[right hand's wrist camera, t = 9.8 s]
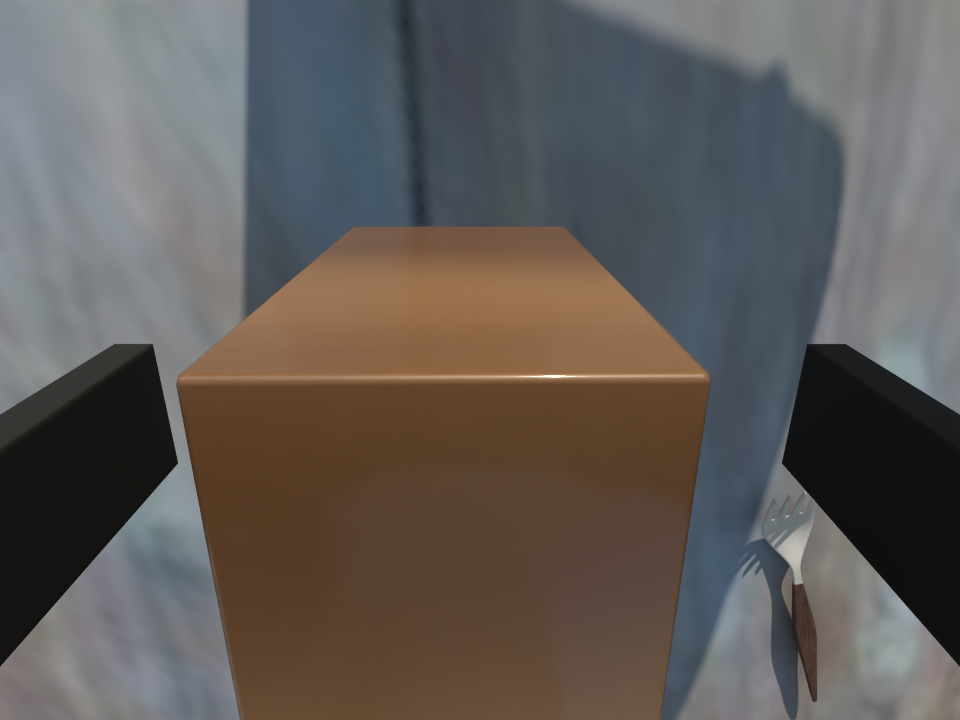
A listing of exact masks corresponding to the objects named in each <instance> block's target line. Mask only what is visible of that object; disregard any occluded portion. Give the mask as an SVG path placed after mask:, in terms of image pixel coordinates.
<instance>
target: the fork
mask: <svg viewBox="0 0 960 720" xmlns="http://www.w3.org/2000/svg"><path fill="white" fill-rule="evenodd" d="M805 496H806V492H805V491H804V492H803V493H802V494H801V496H800V498H799V500H798V501H797V503H796V505H795V507H794V509H793V512H792V513H791V514H790V515H789V516H786V512H787V508H788V505H789V502H790V500H791V496H790V495H788V497H787V499H786V500H785V502H784V504H783V506H782V508H781V510H780V513H779V515H778V517H777V518H776V519H772V515H773V510H774V507H775V504H776V502H777V500H776V499H775V498H774V499H773V501H772V503H771V505H770V507H769V509H768V511H767V514H766V516H765V519H764V523H763V527H762V532H763V536H764V538H765V539H766V541H767V542H768V544H769V545H770V546H771V547H772V548H773V549H774V550H775V551H776V552H777V553H778V554H779V555H781V556H782V557H783V558H784V559H785V560H786V562H787V563H788V564H789V565H790V567H791V570H792V626H793V633H794V637H795V641H796V644H797V647H798V651H799V654H800V657H801V660H802V664H803V667H804V671H805V675H806V679H807V683H808V687H809V690H810V694H811V697H812V700H813V702H816V700H817V636H816V628H815V624H814V619H813V616H812V612H811V609H810V605H809V602H808V599H807V595H806V592H805V588H804V585H803V581H802V578H801V573H800V563H801V559H802V555H803V552H804V549H805V546H806V543H807V540H808V538H809V534H810V531H811V528H812V523H813V512H814V506H815V503H816V502H815V500H814V499H813V498H812V499H811V500H810V502H809V504H808V506H807V508H806V510H805V511H804V512H802V513H801V512H800V509H801V506H802V503H803V500H804V498H805Z"/></svg>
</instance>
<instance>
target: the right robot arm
mask: <svg viewBox="0 0 960 720" xmlns="http://www.w3.org/2000/svg"><path fill="white" fill-rule="evenodd" d="M177 464H178V460H177V456H176V451H175V446H174V442H173V437H172V432H171V428H170V423H169V418H168V414H167V409H166V404H165V399H164V395H163V390H162V385H161V381H160V376H159V371H158V367H157V362H156V357H155V353H154V348H153V344H114V345H112V346H111V347H109V348H107V349H106V350H104V351H103V352H101V353H99V354H98V355H96V356H94V357H93V358H91V359H90V360H88V361H86V362H85V363H83V364H82V365H80V366H78V367H77V368H75V369H73V370H72V371H70V372H69V373H67V374H65V375H64V376H62V377H60V378H59V379H57V380H56V381H54V382H52V383H51V384H49V385H48V386H46V387H44V388H43V389H41V390H39V391H38V392H36V393H35V394H33V395H31V396H30V397H28V398H27V399H25V400H23V401H22V402H20V403H18V404H17V405H15V406H14V407H12V408H10V409H9V410H7V411H5V412H4V413H2V414H1V415H0V666H1V665H2V664H3V663H4V662H5V660H6V659H7V658H8V657H9V656H10V655H11V654H12V652H13V651H14V650H15V649H16V648H17V647H18V646H19V644H20V643H21V642H22V641H23V640H24V639H25V638H26V636H27V635H28V634H29V633H30V632H31V631H32V630H33V628H34V627H35V626H36V625H37V624H38V623H39V622H40V620H41V619H42V618H43V617H44V616H45V615H46V614H47V612H48V611H49V610H50V609H51V608H52V607H53V606H54V604H55V603H56V602H57V601H58V600H59V599H60V598H61V596H62V595H63V594H64V593H65V592H66V591H67V590H68V588H69V587H70V586H71V585H72V584H73V583H74V582H75V580H76V579H77V578H78V577H79V576H80V575H81V574H82V572H83V571H84V570H85V569H86V568H87V567H88V566H89V564H90V563H91V562H92V561H93V560H94V559H95V558H96V556H97V555H98V554H99V553H100V552H101V551H102V550H103V548H104V547H105V546H106V545H107V544H108V543H109V542H110V540H111V539H112V538H113V537H114V536H115V535H116V534H117V532H118V531H119V530H120V529H121V528H122V527H123V526H124V524H125V523H126V522H127V521H128V520H129V519H130V518H131V516H132V515H133V514H134V513H135V512H136V511H137V510H138V508H139V507H140V506H141V505H142V504H143V503H144V502H145V500H146V499H147V498H148V497H149V496H150V495H151V494H152V492H153V491H154V490H155V489H156V488H157V487H158V486H159V484H160V483H161V482H162V481H163V480H164V479H165V478H166V476H167V475H168V474H169V473H170V472H171V471H172V470H173V468H174V467H175V466H176V465H177ZM782 464H783V465H784V466H785V467H786V468H787V470H788V471H789V472H790V473H791V474H792V475H793V476H794V478H795V479H796V480H797V481H798V482H799V483H800V484H801V486H802V487H803V488H804V489H805V490H806V491H807V492H808V494H809V495H810V496H811V497H812V498H813V499H814V500H815V502H816V503H817V504H818V505H819V506H820V507H821V508H822V510H823V511H824V512H825V513H826V514H827V515H828V516H829V518H830V519H831V520H832V521H833V522H834V523H835V524H836V526H837V527H838V528H839V529H840V530H841V531H842V532H843V534H844V535H845V536H846V537H847V538H848V539H849V540H850V542H851V543H852V544H853V545H854V546H855V547H856V548H857V550H858V551H859V552H860V553H861V554H862V555H863V556H864V558H865V559H866V560H867V561H868V562H869V563H870V564H871V566H872V567H873V568H874V569H875V570H876V571H877V572H878V574H879V575H880V576H881V577H882V578H883V579H884V580H885V582H886V583H887V584H888V585H889V586H890V587H891V588H892V590H893V591H894V592H895V593H896V594H897V595H898V596H899V598H900V599H901V600H902V601H903V602H904V603H905V604H906V606H907V607H908V608H909V609H910V610H911V611H912V612H913V614H914V615H915V616H916V617H917V618H918V619H919V620H920V622H921V623H922V624H923V625H924V626H925V627H926V628H927V630H928V631H929V632H930V633H931V634H932V635H933V636H934V638H935V639H936V640H937V641H938V642H939V643H940V644H941V646H942V647H943V648H944V649H945V650H946V651H947V652H948V654H949V655H950V656H951V657H952V658H953V659H954V660H955V662H956V663H957V664H958V665H959V666H960V415H959V414H958V413H956V412H955V411H953V410H951V409H950V408H948V407H946V406H945V405H943V404H942V403H940V402H938V401H937V400H935V399H933V398H932V397H930V396H929V395H927V394H925V393H924V392H922V391H921V390H919V389H917V388H916V387H914V386H912V385H911V384H909V383H908V382H906V381H904V380H903V379H901V378H900V377H898V376H896V375H895V374H893V373H891V372H890V371H888V370H887V369H885V368H883V367H882V366H880V365H878V364H877V363H875V362H874V361H872V360H870V359H869V358H867V357H866V356H864V355H862V354H861V353H859V352H857V351H856V350H854V349H853V348H851V347H849V346H848V345H846V344H807V348H806V353H805V357H804V362H803V367H802V371H801V376H800V381H799V385H798V390H797V395H796V399H795V404H794V409H793V414H792V418H791V423H790V428H789V432H788V437H787V442H786V446H785V451H784V456H783V460H782Z"/></svg>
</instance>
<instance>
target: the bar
mask: <svg viewBox="0 0 960 720" xmlns="http://www.w3.org/2000/svg"><path fill="white" fill-rule="evenodd" d="M710 381H711V380H710V376H709V373H708V372H707V371H706V370H705V369H704V368H703V367H702V366H701V365H700V364H699V363H698V362H697V361H696V360H695V359H694V358H693V357H692V356H691V355H690V354H689V353H688V352H687V351H686V350H685V349H684V348H683V347H682V346H681V345H680V344H679V343H678V342H677V341H676V340H675V339H674V338H673V337H672V336H671V335H670V334H669V333H668V331H667V330H666V329H665V328H664V327H663V326H662V325H661V324H660V323H659V322H658V321H657V320H656V319H655V318H654V317H653V316H652V315H651V314H650V313H649V312H648V311H647V310H646V309H645V308H644V307H643V306H642V305H641V304H640V303H639V302H638V301H637V300H636V299H635V298H634V297H633V296H632V295H631V294H630V293H629V292H628V291H627V290H626V289H625V288H624V287H623V286H622V285H621V284H620V283H619V282H618V281H617V280H616V279H615V278H614V277H613V276H612V275H611V274H610V273H609V272H608V271H607V270H606V269H605V268H604V267H603V266H602V265H601V264H600V262H599V261H598V260H597V259H596V258H595V257H594V256H593V255H592V254H591V253H590V252H589V251H588V250H587V249H586V248H585V247H584V246H583V245H582V244H581V243H580V242H579V241H578V240H577V239H576V238H575V237H574V236H573V235H572V234H571V233H570V232H569V231H568V230H567V229H566V228H564V227H353V228H352V229H350V230H349V231H348V232H347V233H346V234H345V235H343V236H342V237H341V238H340V239H339V240H337V241H336V242H335V243H334V244H333V245H332V246H330V247H329V248H328V249H327V250H326V251H325V252H323V253H322V254H321V255H320V256H319V257H317V258H316V259H315V260H314V261H313V262H312V263H310V264H309V265H308V266H307V267H306V268H305V269H303V270H302V271H301V272H300V273H299V274H297V275H296V276H295V277H294V278H293V279H292V280H290V281H289V282H288V283H287V284H286V285H285V286H283V287H282V288H281V289H280V290H279V291H277V292H276V293H275V294H274V295H273V296H272V297H270V298H269V299H268V300H267V301H266V302H264V303H263V304H262V305H261V306H260V307H259V308H257V309H256V310H255V311H254V312H253V313H252V314H250V315H249V316H248V317H247V318H246V319H244V320H243V321H242V322H241V323H240V324H239V325H237V326H236V327H235V328H234V329H233V330H232V331H230V332H229V333H228V334H227V335H226V336H224V337H223V338H222V339H221V340H220V341H219V342H217V343H216V344H215V345H214V346H213V347H212V348H210V349H209V350H208V351H207V352H206V353H204V354H203V355H202V356H201V357H200V358H199V359H197V360H196V361H195V362H194V363H193V364H191V365H190V366H189V367H188V368H187V369H186V370H184V371H183V372H182V373H181V374H180V375H179V376H178V379H177V384H176V386H177V391H178V396H179V402H180V407H181V412H182V417H183V423H184V428H185V433H186V438H187V443H188V449H189V454H190V459H191V464H192V470H193V475H194V480H195V485H196V491H197V496H198V501H199V506H200V512H201V517H202V522H203V527H204V533H205V538H206V543H207V548H208V554H209V559H210V564H211V569H212V575H213V580H214V585H215V590H216V595H217V601H218V606H219V611H220V616H221V622H222V627H223V632H224V637H225V643H226V648H227V653H228V658H229V664H230V669H231V674H232V679H233V685H234V690H235V695H236V700H237V706H238V711H239V716H240V720H660V717H661V710H662V703H663V696H664V690H665V683H666V676H667V670H668V663H669V656H670V650H671V643H672V636H673V629H674V623H675V616H676V609H677V603H678V596H679V589H680V583H681V576H682V569H683V563H684V556H685V549H686V542H687V536H688V529H689V522H690V516H691V509H692V502H693V496H694V489H695V482H696V475H697V469H698V462H699V455H700V449H701V442H702V435H703V429H704V422H705V415H706V409H707V402H708V395H709V388H710Z"/></svg>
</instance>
